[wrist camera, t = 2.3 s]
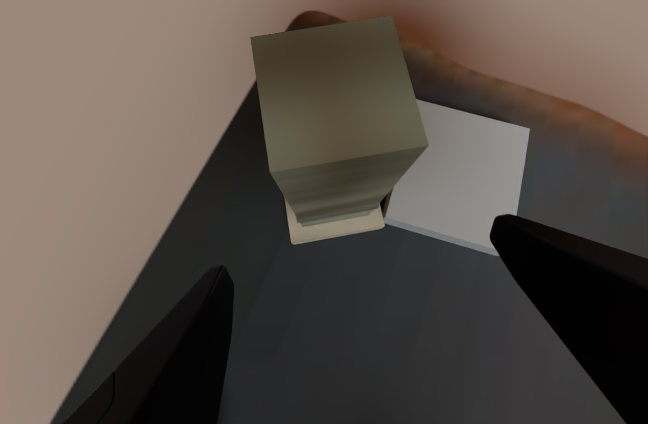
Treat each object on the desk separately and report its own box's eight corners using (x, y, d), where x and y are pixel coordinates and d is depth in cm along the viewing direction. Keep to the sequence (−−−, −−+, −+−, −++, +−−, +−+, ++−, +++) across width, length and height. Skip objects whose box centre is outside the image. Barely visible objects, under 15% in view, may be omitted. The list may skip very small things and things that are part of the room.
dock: (515, 138, 22) (534, 126, 20) (496, 255, 20) (514, 254, 18) (407, 110, 23) (415, 95, 21) (378, 221, 21) (384, 216, 19)
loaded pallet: (380, 228, 21) (469, 170, 8) (293, 244, 20) (241, 209, 8) (362, 148, 22) (413, -12, 9) (281, 162, 22) (218, 18, 9)
